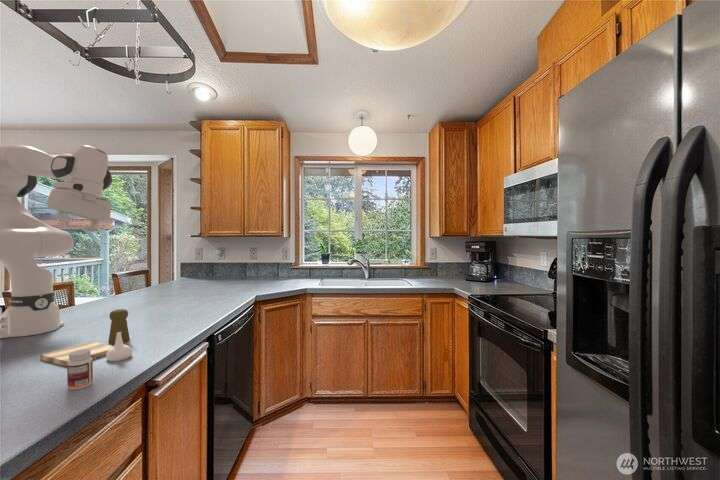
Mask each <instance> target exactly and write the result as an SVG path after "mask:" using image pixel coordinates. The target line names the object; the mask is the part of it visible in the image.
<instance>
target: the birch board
mask: <svg viewBox="0 0 720 480" xmlns="http://www.w3.org/2000/svg"><path fill="white" fill-rule="evenodd" d="M113 346H114V345H112V344H105V343H101V342H96V341H92V340H90V341H87V342H83V343H79V344H75V345H71V346H68V347H65V348H61V349H57V350H53V351H49V352H45V353H41V354H40V360H41V361H44V362H48V363H52V364H55V365H59V364H60V365H59V366H62V365H64V367H66V366H67V363H68V362H69V361H70V360H69V354H70V353H71V352H73V351H77V350H82V349H89V350H90V352H91V356H90V357H91V358H92V359H93V360H96V359H99V358H103V357H106V356H105V355H106V353H107V351H108V350H109V349H110V348H112V347H113ZM102 356H103V357H102ZM95 358H96V359H95Z"/></svg>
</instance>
